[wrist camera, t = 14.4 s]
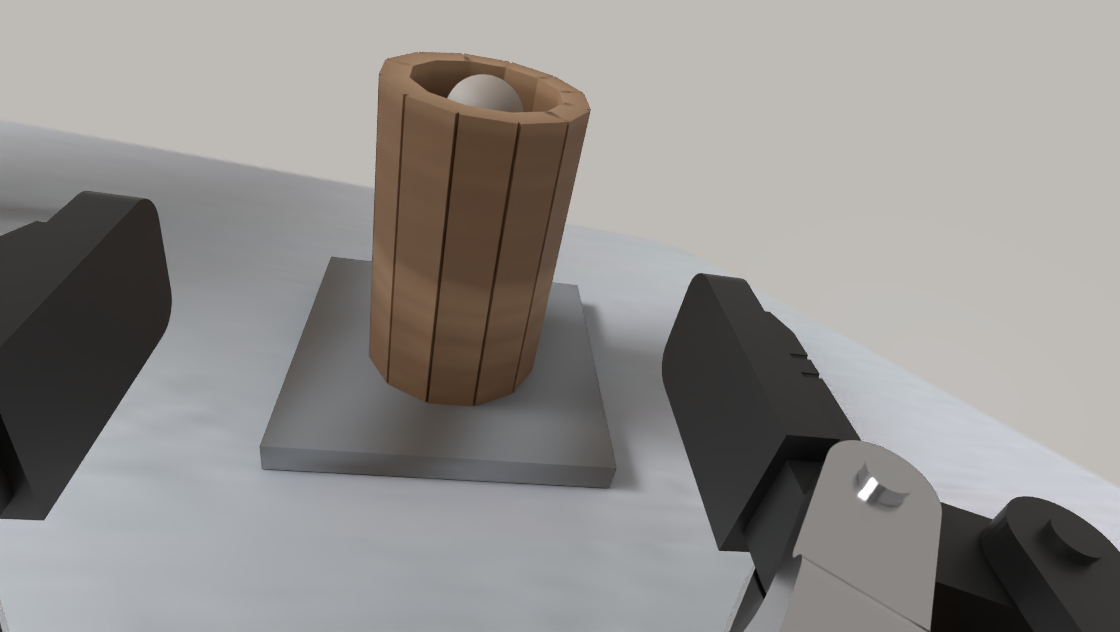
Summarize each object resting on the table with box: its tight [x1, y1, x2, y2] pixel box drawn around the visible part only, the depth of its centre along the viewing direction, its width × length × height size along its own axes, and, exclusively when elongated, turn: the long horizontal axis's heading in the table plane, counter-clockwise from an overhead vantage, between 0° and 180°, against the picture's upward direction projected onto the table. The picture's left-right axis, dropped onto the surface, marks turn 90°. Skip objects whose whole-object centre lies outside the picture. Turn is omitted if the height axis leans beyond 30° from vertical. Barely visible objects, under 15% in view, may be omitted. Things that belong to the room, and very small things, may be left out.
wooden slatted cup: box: [369, 52, 591, 406], centre depth 22 cm, size 6×6×10 cm
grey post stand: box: [260, 74, 616, 488], centre depth 22 cm, size 11×11×11 cm
